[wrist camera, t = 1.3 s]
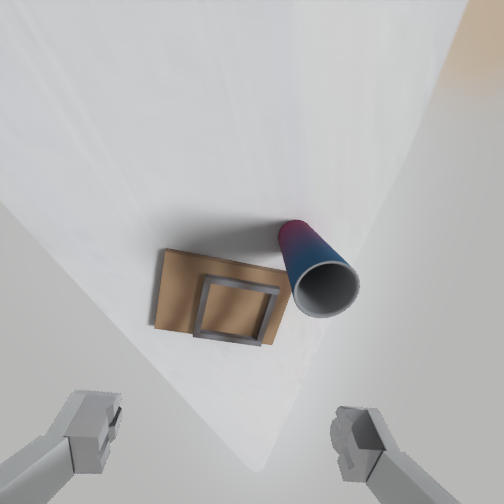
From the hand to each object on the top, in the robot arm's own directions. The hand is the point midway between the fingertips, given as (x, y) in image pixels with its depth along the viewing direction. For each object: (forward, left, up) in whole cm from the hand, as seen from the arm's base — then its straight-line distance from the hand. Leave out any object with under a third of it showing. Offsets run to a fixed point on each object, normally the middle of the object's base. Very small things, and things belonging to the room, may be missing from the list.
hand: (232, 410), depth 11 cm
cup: (+11, -3, -32) cm, 33 cm away
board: (+3, -16, -31) cm, 35 cm away
